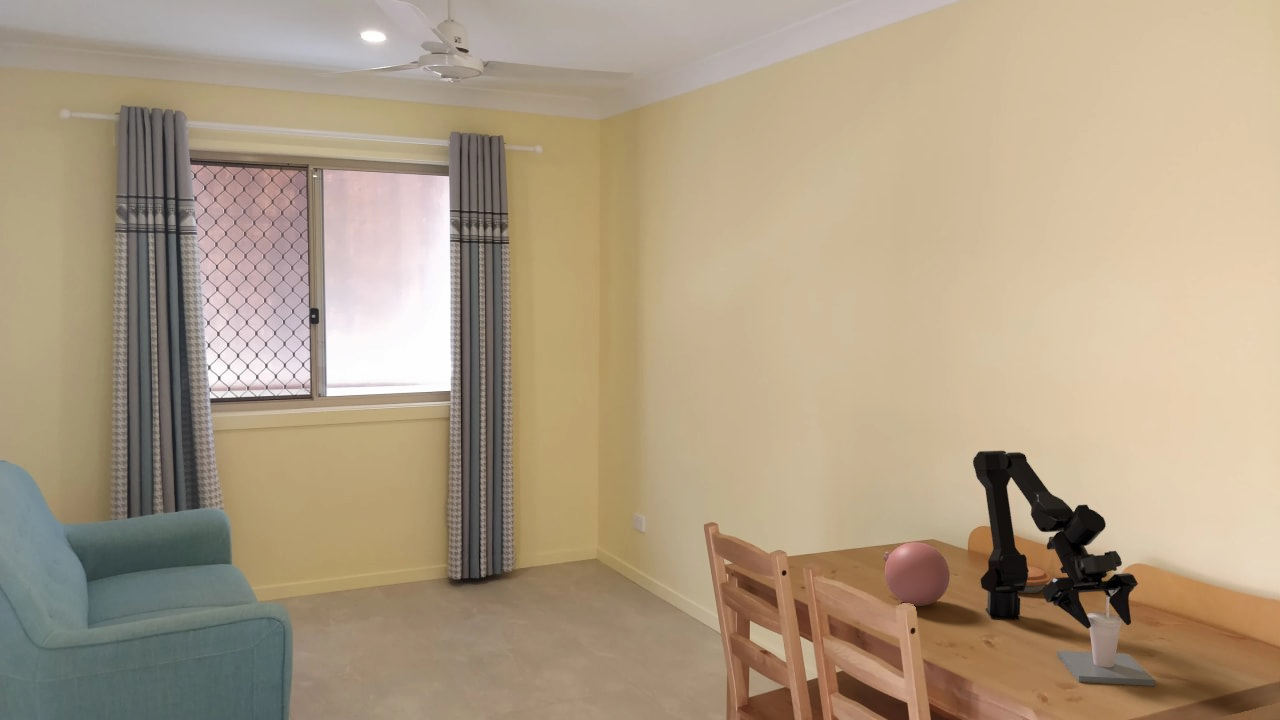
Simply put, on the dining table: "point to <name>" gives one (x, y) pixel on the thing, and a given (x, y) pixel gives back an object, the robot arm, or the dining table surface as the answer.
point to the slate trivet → (1105, 669)
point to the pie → (1035, 580)
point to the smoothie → (1104, 636)
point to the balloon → (916, 573)
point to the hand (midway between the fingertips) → (1109, 625)
